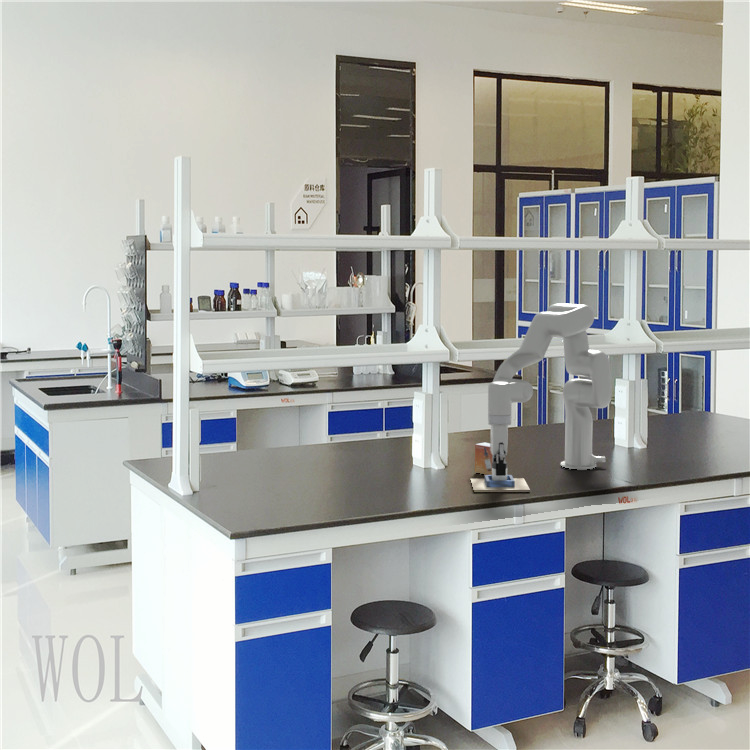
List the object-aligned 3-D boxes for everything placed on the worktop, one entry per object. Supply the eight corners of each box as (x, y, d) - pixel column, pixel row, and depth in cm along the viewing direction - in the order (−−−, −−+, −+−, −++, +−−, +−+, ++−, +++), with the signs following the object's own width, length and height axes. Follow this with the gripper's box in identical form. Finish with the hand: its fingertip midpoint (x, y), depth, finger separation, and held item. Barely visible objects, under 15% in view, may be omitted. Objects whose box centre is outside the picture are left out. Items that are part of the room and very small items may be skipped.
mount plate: (523, 481, 332) (524, 472, 331) (529, 492, 316) (530, 483, 315) (470, 481, 332) (470, 472, 332) (473, 492, 316) (473, 483, 316)
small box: (474, 473, 344) (474, 444, 342) (484, 471, 348) (484, 441, 346) (492, 477, 338) (492, 447, 337) (502, 474, 342) (502, 444, 341)
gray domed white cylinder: (506, 482, 326) (506, 461, 325) (507, 485, 321) (508, 464, 320) (491, 482, 326) (491, 461, 326) (492, 485, 322) (492, 464, 321)
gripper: (485, 415, 330) (485, 466, 332) (490, 424, 313) (490, 478, 315) (508, 415, 330) (508, 466, 332) (514, 424, 312) (513, 478, 315)
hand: (499, 472), depth 323 cm, fingers open, 7 cm apart
